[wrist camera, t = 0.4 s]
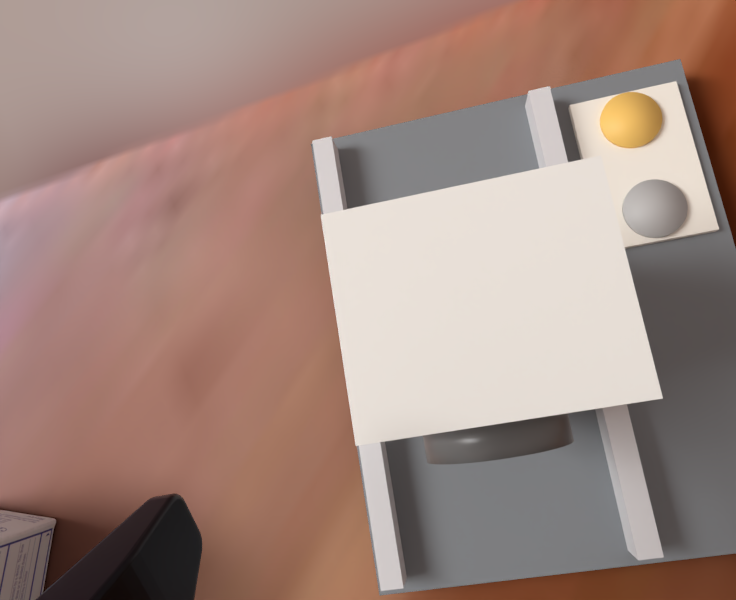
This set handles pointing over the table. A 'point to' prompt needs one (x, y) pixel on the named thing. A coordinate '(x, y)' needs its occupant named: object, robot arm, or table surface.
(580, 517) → the switch board
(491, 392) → the toggle
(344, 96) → the table surface
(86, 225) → the table surface
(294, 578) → the table surface
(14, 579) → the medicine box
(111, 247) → the table surface
